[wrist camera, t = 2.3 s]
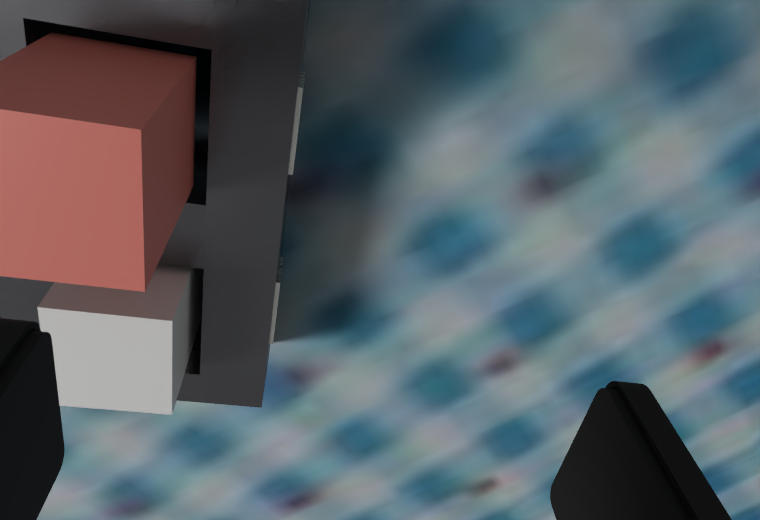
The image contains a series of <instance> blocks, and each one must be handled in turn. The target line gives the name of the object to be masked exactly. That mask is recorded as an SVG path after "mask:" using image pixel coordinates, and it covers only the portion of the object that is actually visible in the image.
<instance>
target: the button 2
mask: <svg viewBox="0 0 760 520" xmlns="http://www.w3.org/2000/svg"><path fill="white" fill-rule="evenodd" d="M196 64H197V57H196V56H190V55H184V54H178V53H172V52H166V51H160V50H154V49H148V48H142V47H136V46H130V45H124V44H118V43H112V42H106V41H100V40H94V39H88V38H82V37H76V36H70V35H64V34H58V33H52V32H51V33H49V34H48V35H46V36H44V37H42V38H41V39H39V40H37V41H35V42H33V43H32V44H30V45H28V46H26V47H24V48H23V49H21V50H19V51H17V52H16V53H14V54H12V55H10V56H8V57H7V58H5V59H3V60H1V61H0V276H4V277H13V278H22V279H31V280H41V281H50V282H59V283H68V284H77V285H86V286H95V287H105V288H114V289H123V290H132V291H141V292H145V291H146V289H147V286H148V284H149V282H150V280H151V278H152V276H153V273H154V271H155V269H156V267H157V265H158V262H159V260H160V258H161V256H162V254H163V251H164V249H165V247H166V245H167V243H168V241H169V238H170V236H171V234H172V232H173V230H174V227H175V225H176V223H177V221H178V219H179V216H180V214H181V212H182V210H183V208H184V205H185V203H186V201H187V199H188V197H189V195H190V192H191V190H192V188H193V186H194V147H195V105H196Z"/></svg>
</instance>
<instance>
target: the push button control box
mask: <svg viewBox="0 0 760 520" xmlns="http://www.w3.org/2000/svg"><path fill="white" fill-rule="evenodd" d="M309 3H310V0H0V61H1V60H3V59H5V58H7V57H8V56H10V55H12V54H14V53H16V52H17V51H19V50H21V49H23V48H24V47H26V46H28V45H30V44H32V43H33V42H35V41H37V40H39V39H41V38H42V37H44V36H46V35H48V34H49V33H51V32H52V33H58V34H64V35H70V36H76V37H80V36H79V28H85V29H91V30H97V31H103V32H109V33H115V34H121V35H127V36H133V37H139V38H144V39H150V40H156V41H162V42H168V43H174V44H180V45H186V46H192V47H198V48H204V49H210V50H212V55H211V83H210V110H209V137H208V155H207V154H200V153H194V186H193V188H192V190H191V192H190V195H189V197H188V199H187V201H186V203H185V205H184V208H183V210H182V212H181V214H180V216H179V219H178V221H177V223H176V225H175V227H174V230H173V232H172V234H171V236H170V238H169V241H168V243H167V245H166V247H165V249H164V251H163V254H162V256H161V258H160V260H159V262H158V264H166V265H175V266H183V267H192V268H201V269H204V274H203V302H202V318H201V321H200V324H199V327H198V331H197V334H196V337H195V341H194V344H193V347H192V351H191V354H190V357H189V360H188V364H187V367H186V370H185V374H184V377H183V380H182V383H181V387H180V390H179V393H178V397H177V400H179V401H191V402H203V403H215V404H227V405H238V406H250V407H262V400H263V393H264V386H265V379H266V372H267V365H268V357H269V350H270V343H271V344H273V340H274V333H275V325H276V318H277V310H278V301H279V293H280V284H281V276H282V267H283V259H284V258H282V257H280V256H281V247H282V238H283V230H284V221H285V212H286V204H287V195H288V186H289V177H290V175H293V170H294V163H295V157H296V149H297V140H298V132H299V123H300V115H301V106H302V98H303V89H304V81H305V72H302V64H303V55H304V47H305V38H306V29H307V20H308V12H309ZM53 283H54V282H50V281H41V280H31V279H22V278H13V277H4V276H0V318H5V319H15V320H25V321H34V322H37V323H38V324H39V326H40V323H39V316H38V309H37V307H38V305H39V304H40V302H41V301H42V299H43V298H44V297H45V295H46V294H47V292H48V291H49V289H50V288H51V286H52V285H53Z"/></svg>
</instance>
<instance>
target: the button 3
mask: <svg viewBox="0 0 760 520" xmlns="http://www.w3.org/2000/svg"><path fill="white" fill-rule="evenodd" d="M203 274H204V269H201V268H192V267H183V266H175V265H166V264H158V265H157V267H156V269H155V271H154V273H153V276H152V278H151V280H150V282H149V284H148V286H147V289H146V291H145V292H141V291H132V290H123V289H114V288H105V287H95V286H86V285H77V284H68V283H59V282H54V283H53V285H52V286H51V288H50V289H49V291H48V292H47V294H46V295H45V297H44V298H43V299H42V301H41V302H40V304H39V305H38V307H37V309H38V316H39V323H40V329H41V331H42V332H48V333H50V335H51V338H52V346H53V354H54V363H55V372H56V380H57V389H58V397H59V406H71V407H84V408H96V409H108V410H121V411H133V412H145V413H158V414H170V415H172V413H173V410H174V406H175V403H176V400H177V397H178V393H179V390H180V387H181V383H182V380H183V377H184V374H185V370H186V367H187V364H188V360H189V357H190V354H191V351H192V347H193V344H194V341H195V337H196V334H197V331H198V327H199V324H200V321H201V318H202V302H203Z"/></svg>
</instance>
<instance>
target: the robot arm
mask: <svg viewBox="0 0 760 520" xmlns="http://www.w3.org/2000/svg"><path fill="white" fill-rule="evenodd" d="M63 458H64V440H63V432H62V423H61V415H60V406H59V397H58V389H57V380H56V372H55V363H54V354H53V346H52V338H51V335H50V333H48V332H42V331H41V329H40V326H39V324H38V323H37V322H34V321H25V320H15V319H5V318H0V520H36V519H37V517H38V515H39V513H40V511H41V509H42V507H43V505H44V503H45V500H46V498H47V496H48V494H49V492H50V490H51V488H52V486H53V484H54V482H55V480H56V478H57V476H58V473H59V471H60V469H61V466H62V462H63ZM550 498H551V504H552V508H553V511H554V514H555V517H556V519H557V520H731V518H730V516H729V515H728V513H727V512H726V510H725V508H724V507H723V505H722V504H721V502H720V500H719V499H718V497H717V496H716V494H715V493H714V491H713V489H712V488H711V486H710V485H709V483H708V481H707V480H706V478H705V477H704V475H703V473H702V472H701V470H700V469H699V467H698V465H697V464H696V462H695V461H694V459H693V457H692V456H691V454H690V453H689V451H688V450H687V448H686V446H685V445H684V443H683V442H682V440H681V438H680V437H679V435H678V434H677V432H676V430H675V429H674V427H673V426H672V424H671V422H670V421H669V419H668V418H667V416H666V414H665V413H664V411H663V410H662V408H661V407H660V405H659V403H658V402H657V400H656V399H655V397H654V395H653V394H652V392H651V391H650V389H649V388H648V387H647V386H646V385H644V384H638V383H628V382H618V381H612V382H610V383H609V384H608V385H607V386H606V388H601V389H600V390H598V392H597V393H596V395H595V397H594V399H593V401H592V403H591V405H590V408H589V410H588V412H587V414H586V416H585V418H584V420H583V422H582V424H581V426H580V428H579V430H578V432H577V434H576V436H575V438H574V440H573V442H572V444H571V447H570V449H569V451H568V453H567V455H566V457H565V459H564V461H563V463H562V465H561V467H560V469H559V471H558V473H557V475H556V477H555V479H554V481H553V484H552V486H551V492H550Z"/></svg>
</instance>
